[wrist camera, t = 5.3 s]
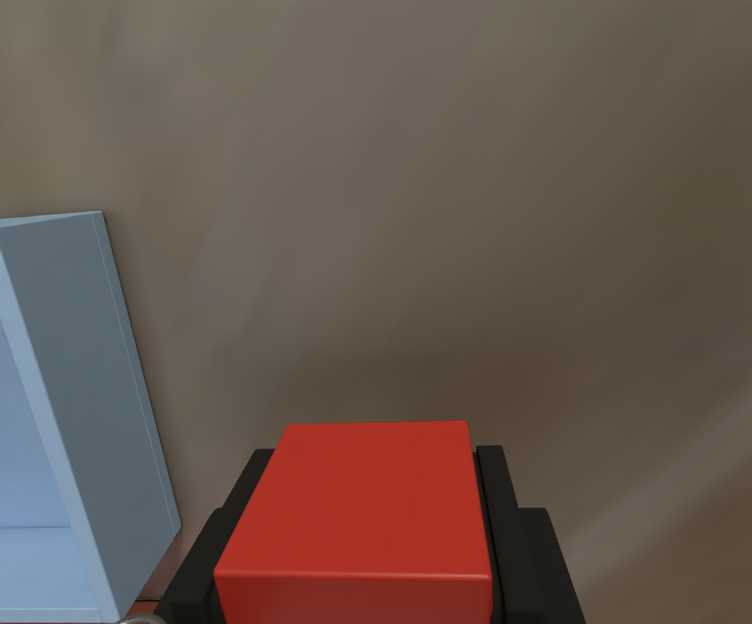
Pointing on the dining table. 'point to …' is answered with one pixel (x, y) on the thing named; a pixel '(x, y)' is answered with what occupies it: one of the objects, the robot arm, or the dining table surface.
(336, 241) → the dining table surface
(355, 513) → the red block
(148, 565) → the blue bin
